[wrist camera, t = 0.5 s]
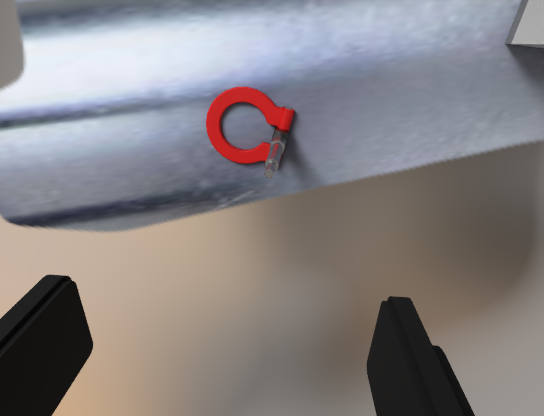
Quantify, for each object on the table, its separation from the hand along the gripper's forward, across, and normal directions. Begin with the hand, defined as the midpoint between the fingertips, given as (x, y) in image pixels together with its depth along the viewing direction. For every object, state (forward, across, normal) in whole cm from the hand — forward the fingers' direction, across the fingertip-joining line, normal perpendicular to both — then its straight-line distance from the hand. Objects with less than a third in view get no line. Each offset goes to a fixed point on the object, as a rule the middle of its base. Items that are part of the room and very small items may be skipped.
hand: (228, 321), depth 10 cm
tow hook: (+31, +3, +1) cm, 31 cm away
